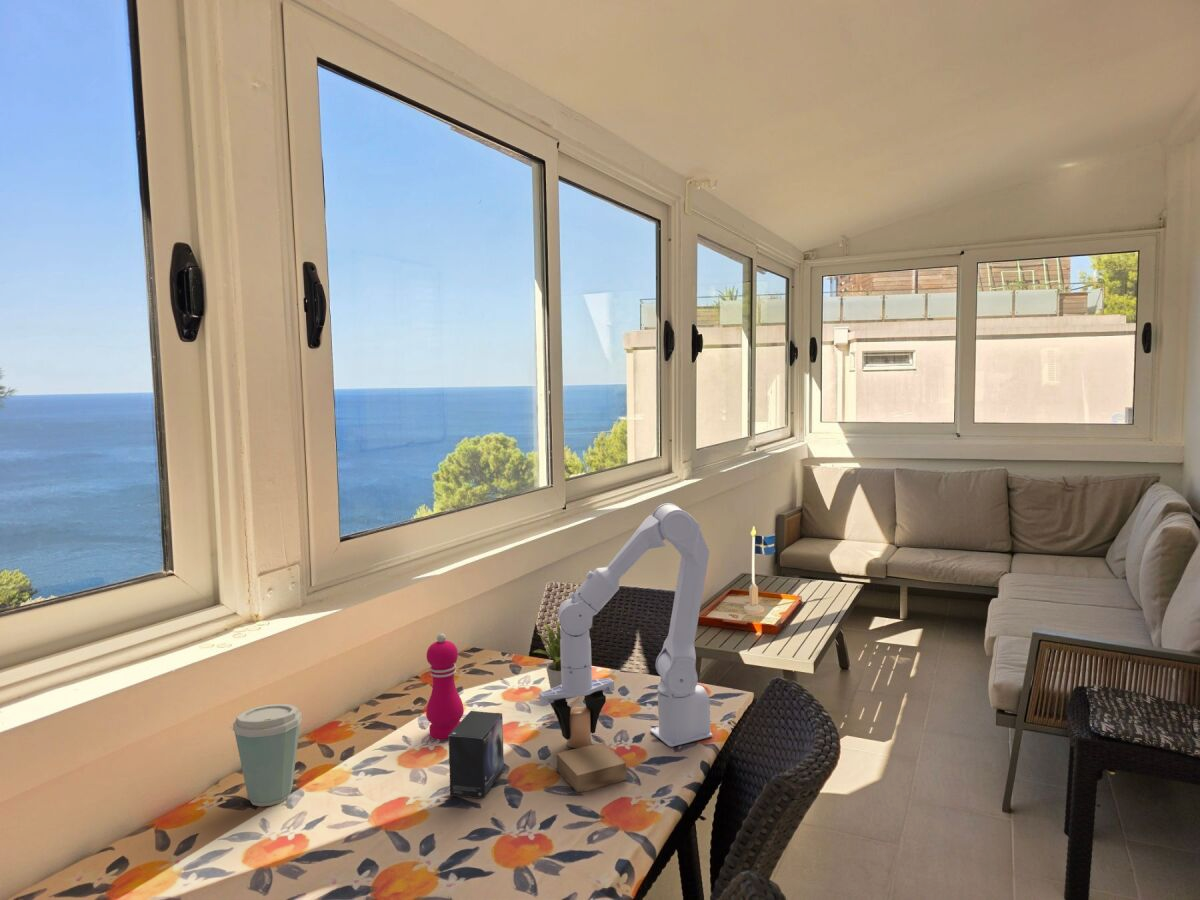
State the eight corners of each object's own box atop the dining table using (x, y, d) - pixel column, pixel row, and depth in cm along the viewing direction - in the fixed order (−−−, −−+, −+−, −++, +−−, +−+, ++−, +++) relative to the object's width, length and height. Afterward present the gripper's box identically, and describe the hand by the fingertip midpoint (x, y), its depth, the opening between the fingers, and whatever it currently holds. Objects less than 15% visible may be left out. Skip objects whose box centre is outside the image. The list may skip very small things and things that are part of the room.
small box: (486, 800, 129) (483, 737, 128) (448, 797, 130) (445, 735, 130) (506, 769, 139) (504, 711, 139) (471, 766, 141) (469, 709, 140)
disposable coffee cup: (238, 789, 135) (232, 704, 134) (305, 775, 139) (300, 693, 138) (236, 820, 125) (230, 728, 124) (308, 804, 129) (303, 715, 128)
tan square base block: (603, 758, 142) (602, 742, 142) (626, 779, 134) (625, 762, 134) (557, 769, 138) (556, 753, 138) (577, 792, 130) (577, 775, 130)
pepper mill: (419, 738, 153) (414, 637, 151) (440, 723, 159) (436, 626, 158) (451, 743, 150) (446, 641, 148) (471, 728, 157) (467, 629, 155)
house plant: (596, 707, 165) (594, 631, 164) (530, 709, 165) (527, 633, 164) (597, 682, 179) (595, 611, 178) (536, 683, 179) (534, 613, 178)
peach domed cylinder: (585, 735, 151) (584, 705, 151) (595, 744, 147) (594, 713, 147) (563, 740, 149) (561, 709, 149) (572, 750, 145) (571, 718, 145)
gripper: (601, 650, 154) (604, 718, 155) (532, 664, 148) (535, 734, 149) (618, 661, 147) (620, 732, 149) (546, 676, 141) (548, 749, 142)
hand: (578, 734), depth 148 cm, fingers closed on peach domed cylinder, 5 cm apart
